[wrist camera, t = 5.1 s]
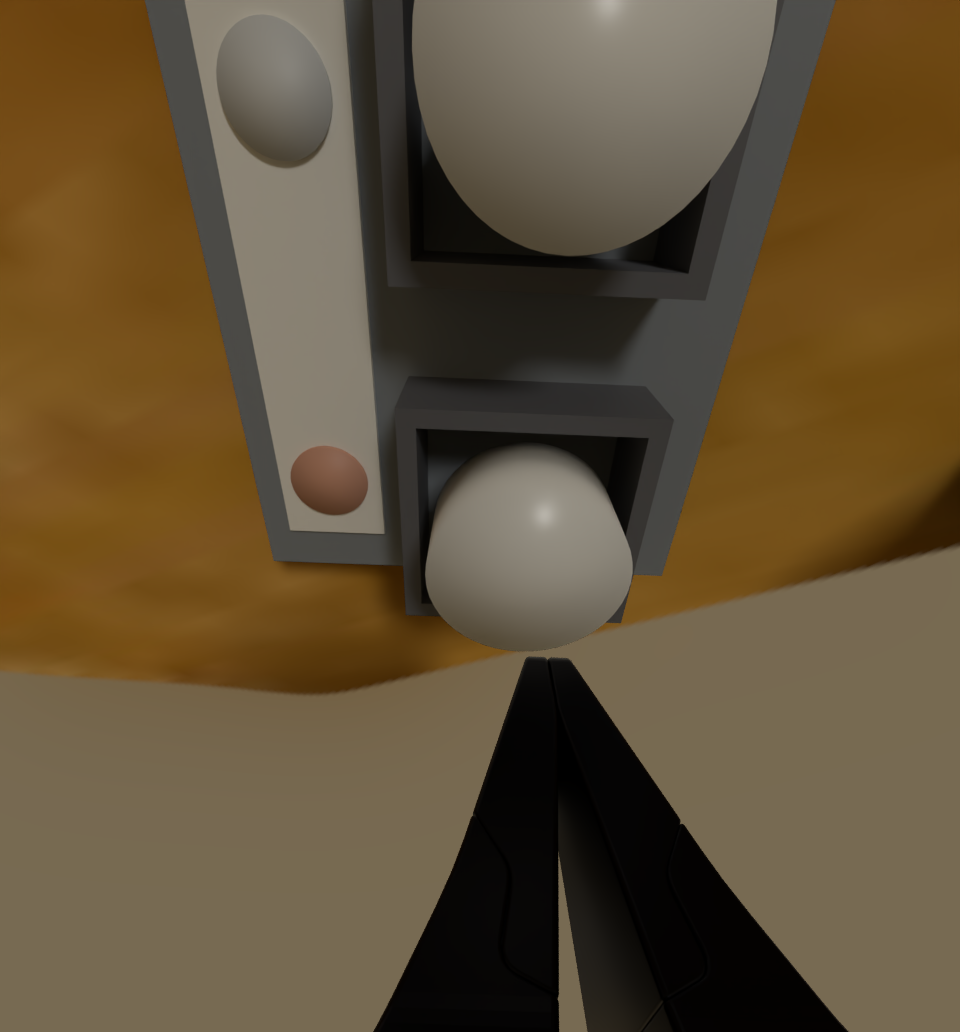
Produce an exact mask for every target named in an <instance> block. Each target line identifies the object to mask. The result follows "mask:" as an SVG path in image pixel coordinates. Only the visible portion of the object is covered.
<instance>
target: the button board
mask: <svg viewBox="0 0 960 1032" xmlns="http://www.w3.org/2000/svg"><path fill="white" fill-rule="evenodd" d="M145 3H146V7H147V11H148V16H149V20H150V24H151V29H152V33H153V37H154V42H155V46H156V50H157V55H158V59H159V63H160V68H161V72H162V76H163V81H164V85H165V89H166V94H167V98H168V103H169V107H170V111H171V116H172V120H173V124H174V129H175V133H176V137H177V142H178V146H179V150H180V155H181V159H182V163H183V168H184V172H185V176H186V181H187V185H188V189H189V194H190V198H191V202H192V207H193V211H194V215H195V220H196V224H197V229H198V233H199V237H200V242H201V246H202V250H203V255H204V259H205V263H206V268H207V272H208V276H209V281H210V285H211V289H212V294H213V298H214V302H215V307H216V311H217V315H218V320H219V324H220V328H221V333H222V337H223V342H224V346H225V350H226V355H227V359H228V363H229V368H230V372H231V376H232V381H233V385H234V389H235V394H236V398H237V402H238V407H239V411H240V415H241V420H242V424H243V428H244V433H245V437H246V441H247V446H248V450H249V455H250V459H251V463H252V468H253V472H254V476H255V481H256V485H257V489H258V494H259V498H260V502H261V507H262V511H263V515H264V520H265V524H266V528H267V533H268V537H269V541H270V546H271V550H272V554H273V559H274V561H292V562H318V563H344V564H370V565H396V566H403V570H404V589H405V607H406V615H419V616H440V614H439V613H438V611H437V610H436V608H435V607H434V605H433V603H432V601H431V599H430V597H429V594H428V590H427V586H426V578H425V571H426V561H427V555H428V549H429V543H430V537H431V531H432V525H433V519H434V513H435V508H436V504H437V500H438V497H439V495H440V492H441V490H442V488H443V486H444V485H445V483H446V481H447V480H448V479H449V477H450V476H451V475H452V474H453V473H454V472H455V471H456V470H457V469H458V468H459V467H460V466H461V465H462V464H463V463H465V462H466V461H467V460H469V459H470V458H472V457H474V456H475V455H477V454H479V453H481V452H483V451H486V450H488V449H491V448H493V447H497V446H501V445H504V444H511V443H520V442H532V443H542V444H547V445H551V446H555V447H558V448H561V449H563V450H566V451H568V452H570V453H572V454H574V455H576V456H577V457H579V458H580V459H581V460H583V461H584V462H586V463H587V464H588V465H589V466H590V467H591V468H592V469H593V470H594V471H595V473H596V474H597V475H598V476H599V478H600V479H601V481H602V483H603V485H604V486H605V488H606V491H607V493H608V496H609V498H610V501H611V503H612V505H613V508H614V510H615V513H616V515H617V518H618V520H619V522H620V525H621V527H622V530H623V532H624V535H625V537H626V540H627V542H628V545H629V548H630V551H631V556H632V562H633V573H632V578H633V575H657V576H662V573H663V570H664V566H665V563H666V560H667V556H668V553H669V550H670V546H671V543H672V540H673V536H674V533H675V530H676V527H677V523H678V520H679V517H680V513H681V510H682V507H683V503H684V500H685V497H686V493H687V490H688V487H689V484H690V480H691V477H692V474H693V470H694V467H695V464H696V460H697V457H698V454H699V450H700V447H701V444H702V440H703V437H704V434H705V431H706V427H707V424H708V421H709V417H710V414H711V411H712V407H713V404H714V401H715V397H716V394H717V391H718V388H719V384H720V381H721V378H722V374H723V371H724V368H725V364H726V361H727V358H728V354H729V351H730V348H731V345H732V341H733V338H734V335H735V331H736V328H737V325H738V321H739V318H740V315H741V311H742V308H743V305H744V302H745V298H746V295H747V292H748V288H749V285H750V282H751V278H752V275H753V272H754V268H755V265H756V262H757V259H758V255H759V252H760V249H761V245H762V242H763V239H764V235H765V232H766V229H767V225H768V222H769V219H770V216H771V212H772V209H773V206H774V202H775V199H776V196H777V192H778V189H779V186H780V182H781V179H782V176H783V173H784V169H785V166H786V163H787V159H788V156H789V153H790V149H791V146H792V143H793V139H794V136H795V133H796V130H797V126H798V123H799V120H800V116H801V113H802V110H803V106H804V103H805V100H806V96H807V93H808V90H809V86H810V83H811V80H812V77H813V73H814V70H815V67H816V63H817V60H818V57H819V53H820V50H821V47H822V43H823V40H824V37H825V34H826V30H827V27H828V24H829V20H830V17H831V14H832V10H833V7H834V4H835V0H777V6H776V15H775V24H774V32H773V37H772V42H771V47H770V51H769V56H768V61H767V65H766V69H765V72H764V75H763V78H762V81H761V85H760V88H759V91H758V94H757V97H756V99H755V102H754V104H753V106H752V109H751V111H750V114H749V116H748V118H747V121H746V123H745V125H744V127H743V129H742V131H741V132H740V134H739V136H738V138H737V140H736V142H735V144H734V146H733V148H732V149H731V151H730V152H729V154H728V155H727V157H726V158H725V160H724V161H723V163H722V164H721V166H720V167H719V169H718V170H717V172H716V173H715V174H714V176H713V177H712V178H711V179H710V180H709V182H708V183H707V184H706V185H705V187H704V188H703V189H702V190H701V192H700V193H699V194H698V195H697V196H696V197H695V198H694V199H693V200H692V201H691V202H690V203H689V204H688V205H687V206H686V207H685V208H684V209H683V210H681V211H680V212H679V213H678V214H676V215H675V216H674V217H673V218H671V219H670V220H669V221H668V222H666V223H665V224H664V225H662V226H661V227H659V228H658V229H656V230H654V231H653V232H651V233H650V234H648V235H646V236H645V237H643V238H641V239H638V240H636V241H634V242H632V243H630V244H628V245H626V246H623V247H620V248H616V249H613V250H610V251H607V252H602V253H597V254H591V255H580V256H563V255H555V254H547V253H543V252H540V251H536V250H532V249H529V248H526V247H524V246H522V245H520V244H517V243H515V242H513V241H511V240H509V239H507V238H506V237H504V236H503V235H501V234H499V233H498V232H496V231H495V230H493V229H492V228H491V227H489V226H488V225H487V224H486V223H485V222H484V221H482V220H481V219H480V218H479V217H478V216H477V215H476V214H475V213H474V212H473V211H472V210H471V209H470V208H469V207H468V206H467V204H466V203H465V202H464V201H463V200H462V199H461V197H460V196H459V195H458V193H457V192H456V190H455V189H454V187H453V186H452V184H451V183H450V182H449V180H448V178H447V177H446V175H445V173H444V171H443V169H442V167H441V165H440V164H439V162H438V160H437V158H436V155H435V153H434V150H433V148H432V145H431V143H430V140H429V138H428V135H427V133H426V129H425V126H424V122H423V118H422V115H421V111H420V108H419V103H418V97H417V91H416V85H415V80H414V69H413V55H412V22H413V8H414V0H145ZM631 582H632V579H631ZM630 586H631V584H630ZM629 590H630V587H629ZM629 590H628V593H627V595H626V597H625V599H624V601H623V602H622V604H621V605H620V607H619V608H618V610H617V611H616V612H615V613H614V614H613V616H612V617H611V618H610V619H609V620H608V621H607V622H606V623H621V620H622V616H623V613H624V609H625V605H626V601H627V597H628V594H629Z"/></svg>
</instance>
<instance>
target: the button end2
mask: <svg viewBox="0 0 960 1032" xmlns="http://www.w3.org/2000/svg"><path fill="white" fill-rule="evenodd" d="M632 573H633V562H632V556H631V551H630V548H629V545H628V542H627V540H626V537H625V535H624V532H623V530H622V527H621V525H620V522H619V520H618V518H617V515H616V513H615V510H614V508H613V505H612V503H611V501H610V498H609V496H608V493H607V491H606V488H605V486H604V485H603V483H602V481H601V479H600V478H599V476H598V475H597V474H596V473H595V471H594V470H593V469H592V468H591V467H590V466H589V465H588V464H587V463H586V462H584V461H583V460H581V459H580V458H579V457H577V456H576V455H574V454H572V453H570V452H568V451H566V450H563V449H561V448H558V447H555V446H551V445H547V444H542V443H532V442H520V443H511V444H504V445H501V446H497V447H493V448H491V449H488V450H486V451H483V452H481V453H479V454H477V455H475V456H474V457H472V458H470V459H469V460H467V461H466V462H465V463H463V464H462V465H461V466H460V467H459V468H458V469H457V470H456V471H455V472H454V473H453V474H452V475H451V476H450V477H449V479H448V480H447V481H446V483H445V485H444V486H443V488H442V490H441V492H440V495H439V497H438V500H437V504H436V508H435V513H434V519H433V525H432V531H431V537H430V543H429V549H428V555H427V561H426V571H425V578H426V586H427V590H428V594H429V597H430V599H431V601H432V603H433V605H434V607H435V608H436V610H437V611H438V613H439V614H440V616H441V617H442V618H443V619H444V620H445V621H446V622H447V623H448V624H449V625H450V626H451V627H452V628H454V629H455V630H456V631H458V632H459V633H461V634H462V635H464V636H466V637H468V638H469V639H471V640H473V641H476V642H478V643H481V644H483V645H486V646H490V647H493V648H498V649H503V650H510V651H538V650H546V649H551V648H556V647H560V646H563V645H567V644H569V643H572V642H574V641H577V640H579V639H581V638H583V637H585V636H587V635H589V634H591V633H592V632H594V631H595V630H597V629H598V628H599V627H601V626H602V625H603V624H604V623H605V622H607V621H608V620H609V619H610V618H611V617H612V616H613V614H614V613H615V612H616V611H617V610H618V608H619V607H620V605H621V604H622V602H623V601H624V599H625V597H626V595H627V593H628V590H629V587H630V584H631V579H632Z"/></svg>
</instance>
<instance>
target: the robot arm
mask: <svg viewBox="0 0 960 1032" xmlns="http://www.w3.org/2000/svg"><path fill="white" fill-rule="evenodd" d="M558 851H559V857H560V863H561V870H562V876H563V882H564V888H565V895H566V901H567V907H568V913H569V919H570V925H571V932H572V938H573V944H574V950H575V956H576V963H577V969H578V975H579V981H580V987H581V993H582V999H583V1006H584V1012H585V1018H586V1024H587V1031H588V1032H848V1031H847V1030H846V1028H845V1027H844V1026H843V1025H842V1024H841V1023H840V1022H839V1021H838V1020H837V1019H836V1017H835V1016H834V1015H833V1014H832V1013H831V1011H830V1010H829V1009H828V1008H827V1007H826V1006H825V1004H824V1003H823V1002H822V1001H821V1000H820V998H819V997H818V996H817V995H816V993H815V992H814V991H813V990H812V989H811V987H810V986H809V985H808V984H807V982H806V981H805V980H804V979H803V978H802V977H801V975H800V974H799V973H798V972H797V970H796V969H795V968H794V967H793V965H792V964H791V963H790V962H789V961H788V959H787V958H786V957H785V956H784V954H783V953H782V952H781V951H780V950H779V949H778V947H777V946H776V945H775V944H774V943H773V941H772V940H771V939H770V938H769V936H768V935H767V934H766V933H765V931H764V930H763V929H762V928H761V927H760V925H759V924H758V923H757V922H756V920H755V919H754V918H753V917H752V916H751V914H750V913H749V912H748V911H747V909H746V908H745V907H744V906H743V904H742V903H741V902H740V900H739V899H738V898H737V897H736V895H735V894H734V893H733V892H732V890H731V889H730V888H729V887H728V885H727V884H726V883H725V882H724V880H723V879H722V878H721V876H720V875H719V873H718V872H717V871H716V870H715V868H714V867H713V865H712V864H711V862H710V861H709V860H708V858H707V857H706V855H705V854H704V853H703V851H702V850H701V849H700V847H699V846H698V844H697V843H696V841H695V840H694V838H693V837H692V836H691V834H690V833H689V831H688V830H687V828H686V827H685V825H683V824H680V819H679V817H678V816H677V814H676V813H675V811H674V810H673V808H672V807H671V805H670V804H669V802H668V801H667V800H666V798H665V797H664V795H663V794H662V792H661V791H660V789H659V788H658V786H657V785H656V784H655V782H654V781H653V779H652V778H651V776H650V775H649V773H648V772H647V771H646V769H645V768H644V766H643V765H642V763H641V762H640V760H639V759H638V757H637V756H636V755H635V753H634V752H633V750H632V749H631V747H630V746H629V745H628V743H627V742H626V740H625V739H624V737H623V736H622V734H621V733H620V731H619V730H618V728H617V727H616V726H615V724H614V723H613V721H612V720H611V718H610V717H609V715H608V714H607V712H606V711H605V710H604V708H603V707H602V706H601V704H600V702H599V701H598V700H597V698H596V697H595V695H594V694H593V692H592V691H591V689H590V688H589V686H588V685H587V683H586V682H585V681H584V679H583V678H582V676H581V675H580V673H579V672H578V670H577V669H576V667H575V666H574V665H573V663H572V662H571V661H570V660H569V659H567V658H552V657H551V658H549V659H548V660H547V659H546V658H545V657H527V658H526V659H525V662H524V665H523V668H522V671H521V674H520V677H519V679H518V683H517V685H516V688H515V691H514V694H513V697H512V700H511V703H510V706H509V709H508V712H507V715H506V718H505V720H504V723H503V726H502V730H501V732H500V735H499V738H498V741H497V744H496V747H495V750H494V753H493V756H492V759H491V762H490V764H489V767H488V770H487V773H486V776H485V779H484V782H483V785H482V788H481V791H480V794H479V797H478V800H477V803H476V806H475V808H474V812H473V816H472V817H471V819H470V823H469V825H468V828H467V831H466V834H465V837H464V840H463V842H462V845H461V848H460V851H459V853H458V856H457V858H456V861H455V864H454V866H453V869H452V871H451V874H450V876H449V878H448V880H447V883H446V885H445V887H444V889H443V891H442V894H441V896H440V898H439V900H438V903H437V905H436V907H435V909H434V911H433V913H432V915H431V917H430V920H429V921H428V923H427V926H426V928H425V929H424V932H423V934H422V936H421V938H420V940H419V942H418V944H417V946H416V948H415V950H414V952H413V954H412V956H411V958H410V960H409V962H408V965H407V966H406V968H405V970H404V973H403V975H402V977H401V979H400V981H399V983H398V985H397V987H396V989H395V991H394V993H393V995H392V998H391V999H390V1001H389V1003H388V1005H387V1007H386V1009H385V1011H384V1013H383V1015H382V1016H381V1018H380V1020H379V1022H378V1024H377V1026H376V1028H375V1029H374V1031H373V1032H559V1003H558V995H559V939H558V938H559V934H558V933H559V929H558V928H559V927H558V922H559V917H558Z"/></svg>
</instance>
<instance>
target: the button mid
mask: <svg viewBox="0 0 960 1032" xmlns="http://www.w3.org/2000/svg"><path fill="white" fill-rule="evenodd" d="M776 6H777V0H414V8H413V22H412V55H413V69H414V80H415V85H416V91H417V97H418V103H419V108H420V111H421V115H422V118H423V122H424V126H425V129H426V133H427V135H428V138H429V140H430V143H431V145H432V148H433V150H434V153H435V155H436V158H437V160H438V162H439V164H440V165H441V167H442V169H443V171H444V173H445V175H446V177H447V178H448V180H449V182H450V183H451V184H452V186H453V187H454V189H455V190H456V192H457V193H458V195H459V196H460V197H461V199H462V200H463V201H464V202H465V203H466V204H467V206H468V207H469V208H470V209H471V210H472V211H473V212H474V213H475V214H476V215H477V216H478V217H479V218H480V219H481V220H482V221H484V222H485V223H486V224H487V225H488V226H489V227H491V228H492V229H493V230H495V231H496V232H498V233H499V234H501V235H503V236H504V237H506V238H507V239H509V240H511V241H513V242H515V243H517V244H520V245H522V246H524V247H526V248H529V249H532V250H536V251H540V252H543V253H547V254H555V255H563V256H580V255H591V254H597V253H602V252H607V251H610V250H613V249H616V248H620V247H623V246H626V245H628V244H630V243H632V242H634V241H636V240H638V239H641V238H643V237H645V236H646V235H648V234H650V233H651V232H653V231H654V230H656V229H658V228H659V227H661V226H662V225H664V224H665V223H666V222H668V221H669V220H670V219H671V218H673V217H674V216H675V215H676V214H678V213H679V212H680V211H681V210H683V209H684V208H685V207H686V206H687V205H688V204H689V203H690V202H691V201H692V200H693V199H694V198H695V197H696V196H697V195H698V194H699V193H700V192H701V190H702V189H703V188H704V187H705V185H706V184H707V183H708V182H709V180H710V179H711V178H712V177H713V176H714V174H715V173H716V172H717V170H718V169H719V167H720V166H721V164H722V163H723V161H724V160H725V158H726V157H727V155H728V154H729V152H730V151H731V149H732V148H733V146H734V144H735V142H736V140H737V138H738V136H739V134H740V132H741V131H742V129H743V127H744V125H745V123H746V121H747V118H748V116H749V114H750V111H751V109H752V106H753V104H754V102H755V99H756V97H757V94H758V91H759V88H760V85H761V81H762V78H763V75H764V72H765V69H766V65H767V61H768V56H769V51H770V47H771V42H772V37H773V32H774V24H775V15H776Z"/></svg>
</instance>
